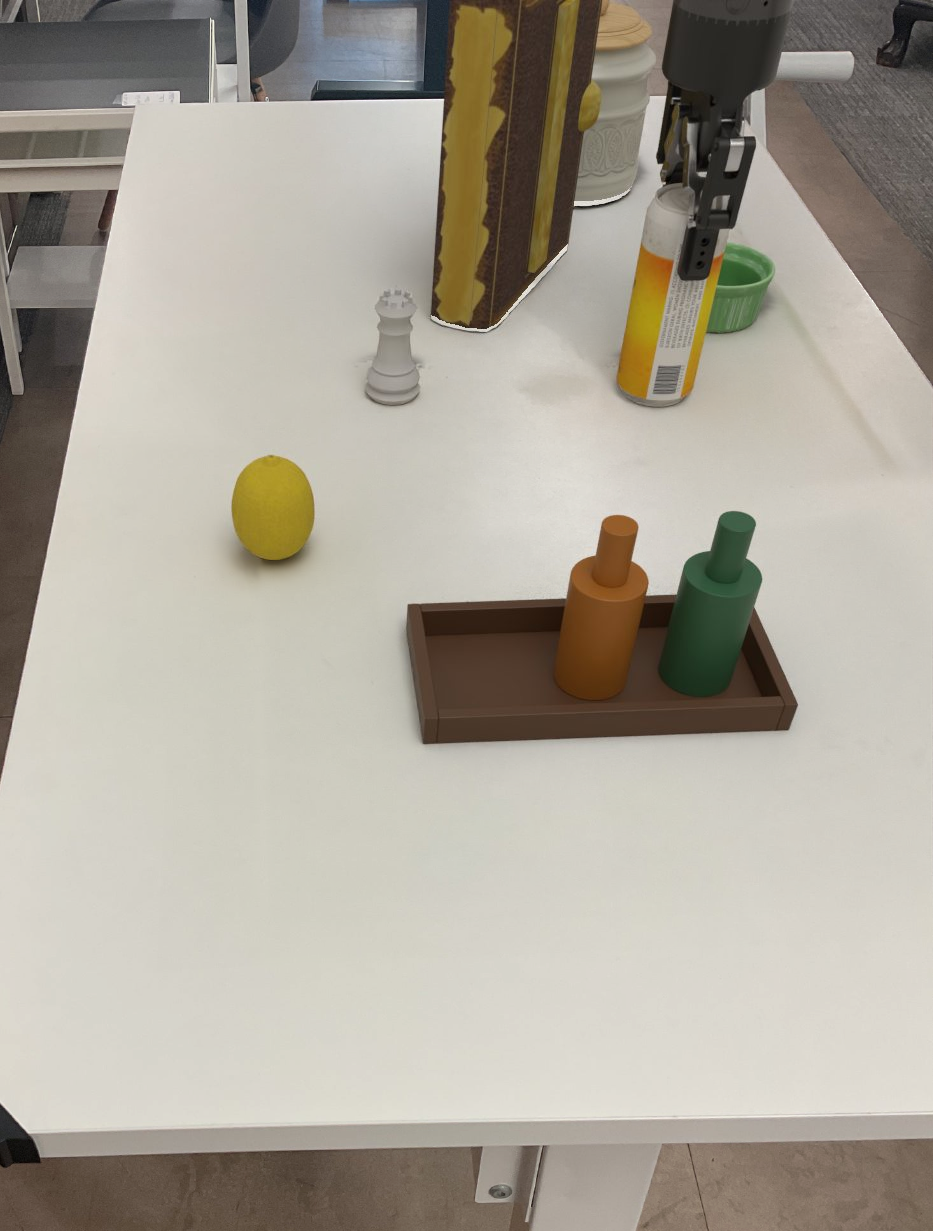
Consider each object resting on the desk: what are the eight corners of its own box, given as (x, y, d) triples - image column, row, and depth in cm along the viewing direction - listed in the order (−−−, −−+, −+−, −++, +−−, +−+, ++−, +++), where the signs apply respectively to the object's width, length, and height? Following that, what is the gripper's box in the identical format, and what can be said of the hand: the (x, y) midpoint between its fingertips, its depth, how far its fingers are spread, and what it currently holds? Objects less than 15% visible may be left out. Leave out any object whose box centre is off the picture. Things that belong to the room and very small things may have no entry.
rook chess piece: (379, 412, 99) (382, 313, 93) (355, 386, 102) (357, 289, 96) (429, 399, 100) (435, 302, 94) (404, 374, 103) (409, 278, 97)
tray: (737, 624, 81) (748, 591, 79) (786, 737, 74) (798, 704, 72) (405, 636, 81) (407, 603, 79) (422, 751, 73) (424, 718, 72)
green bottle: (720, 648, 78) (765, 497, 70) (739, 695, 75) (789, 543, 67) (650, 651, 78) (688, 499, 70) (667, 698, 75) (708, 545, 67)
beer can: (675, 369, 103) (716, 177, 92) (702, 406, 99) (749, 210, 88) (604, 376, 103) (637, 183, 92) (629, 413, 99) (667, 217, 88)
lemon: (318, 581, 84) (317, 477, 79) (236, 586, 84) (229, 482, 78) (312, 534, 88) (310, 431, 82) (233, 538, 88) (226, 435, 82)
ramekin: (639, 299, 112) (648, 249, 109) (728, 283, 114) (740, 234, 110) (689, 344, 106) (701, 293, 103) (782, 328, 108) (796, 277, 105)
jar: (481, 184, 129) (498, -16, 116) (562, 151, 135) (586, -43, 122) (579, 221, 123) (609, 15, 110) (660, 185, 129) (697, -15, 116)
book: (500, 339, 107) (537, 0, 88) (410, 318, 110) (427, -15, 91) (589, 241, 120) (636, -72, 101) (506, 224, 123) (538, -84, 104)
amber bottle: (617, 652, 78) (651, 500, 70) (632, 699, 75) (669, 547, 67) (547, 655, 78) (572, 503, 70) (560, 702, 75) (588, 550, 67)
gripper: (826, 30, 76) (757, 300, 88) (759, -36, 86) (705, 215, 98) (704, 33, 76) (651, 303, 88) (650, -33, 85) (610, 218, 98)
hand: (680, 256), depth 93 cm, fingers open, 6 cm apart
